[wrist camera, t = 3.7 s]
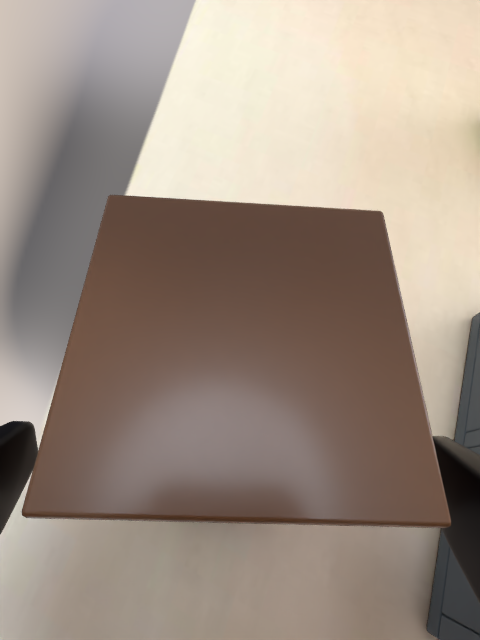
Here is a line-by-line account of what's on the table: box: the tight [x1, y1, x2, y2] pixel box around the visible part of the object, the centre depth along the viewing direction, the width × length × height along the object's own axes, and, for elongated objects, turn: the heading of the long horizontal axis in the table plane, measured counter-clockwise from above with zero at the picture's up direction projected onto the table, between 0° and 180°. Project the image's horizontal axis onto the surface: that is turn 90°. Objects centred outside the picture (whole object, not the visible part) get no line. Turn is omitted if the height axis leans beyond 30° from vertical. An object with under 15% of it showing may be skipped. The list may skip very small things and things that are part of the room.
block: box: [22, 195, 451, 528], centre depth 11 cm, size 5×5×12 cm
